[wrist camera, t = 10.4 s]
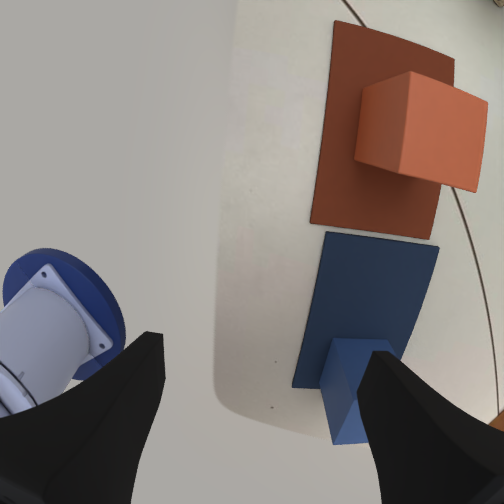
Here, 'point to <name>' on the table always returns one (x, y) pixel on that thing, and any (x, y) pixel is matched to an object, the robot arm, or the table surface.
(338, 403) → the blue block
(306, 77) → the table surface
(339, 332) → the blue mat
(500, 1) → the box
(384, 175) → the terracotta mat
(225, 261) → the table surface
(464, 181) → the terracotta block
